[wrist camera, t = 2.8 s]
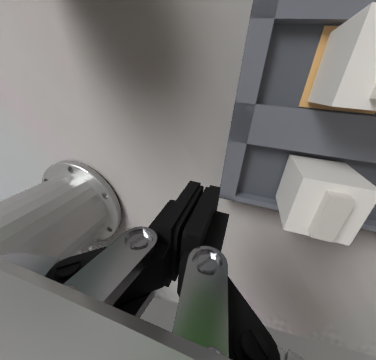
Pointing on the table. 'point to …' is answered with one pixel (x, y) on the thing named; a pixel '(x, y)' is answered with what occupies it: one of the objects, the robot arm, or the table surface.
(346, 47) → the white stepped block
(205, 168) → the table surface
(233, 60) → the table surface
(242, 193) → the switch board
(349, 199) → the white stepped block
